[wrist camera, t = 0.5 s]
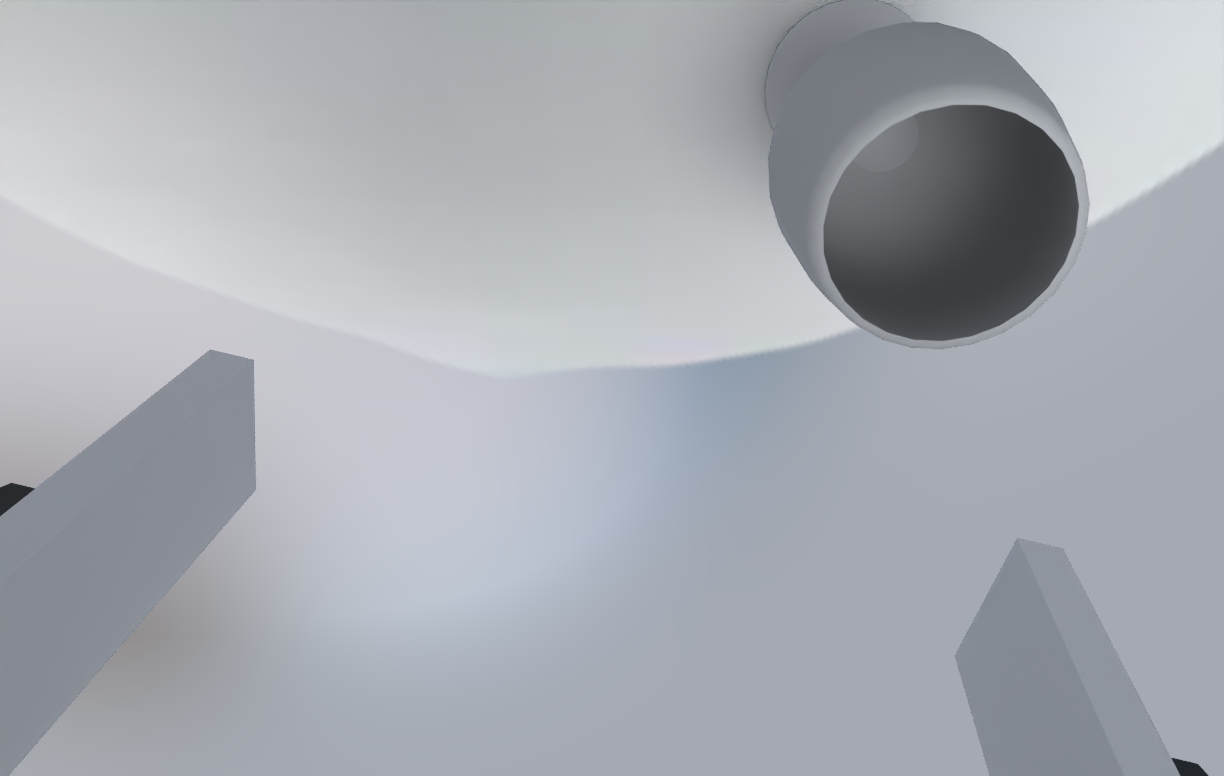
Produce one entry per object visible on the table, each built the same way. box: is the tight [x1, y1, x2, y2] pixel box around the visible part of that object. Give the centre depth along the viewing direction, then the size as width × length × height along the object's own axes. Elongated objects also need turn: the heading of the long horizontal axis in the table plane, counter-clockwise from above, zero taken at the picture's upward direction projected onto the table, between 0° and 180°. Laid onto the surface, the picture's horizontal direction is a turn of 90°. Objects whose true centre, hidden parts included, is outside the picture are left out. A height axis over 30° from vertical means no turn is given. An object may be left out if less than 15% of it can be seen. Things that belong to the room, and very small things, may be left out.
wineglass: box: [765, 0, 1090, 349], centre depth 29 cm, size 8×8×21 cm
